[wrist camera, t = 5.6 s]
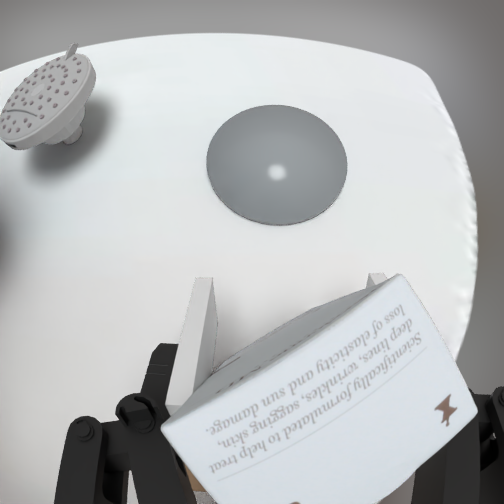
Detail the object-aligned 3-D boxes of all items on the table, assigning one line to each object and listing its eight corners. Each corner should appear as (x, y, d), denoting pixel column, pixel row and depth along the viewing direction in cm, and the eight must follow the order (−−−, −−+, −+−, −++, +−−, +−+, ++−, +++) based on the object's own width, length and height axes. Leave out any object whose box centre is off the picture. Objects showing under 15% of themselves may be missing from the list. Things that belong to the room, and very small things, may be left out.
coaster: (204, 227, 20) (203, 223, 20) (211, 112, 23) (210, 107, 23) (354, 224, 20) (356, 221, 20) (334, 111, 23) (335, 106, 22)
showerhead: (113, 39, 17) (28, 143, 15) (140, 98, 24) (78, 191, 22) (45, 43, 18) (-24, 129, 16) (74, 90, 25) (19, 168, 23)
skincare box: (310, 306, 18) (405, 245, 6) (351, 369, 16) (491, 406, 5) (218, 363, 17) (141, 412, 5) (260, 426, 16) (264, 562, 4)
